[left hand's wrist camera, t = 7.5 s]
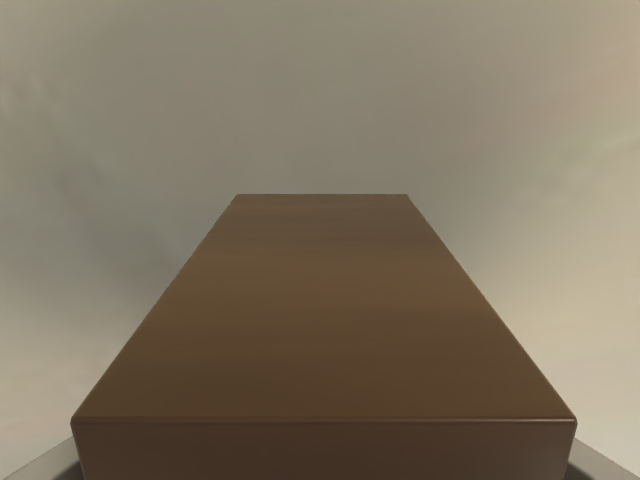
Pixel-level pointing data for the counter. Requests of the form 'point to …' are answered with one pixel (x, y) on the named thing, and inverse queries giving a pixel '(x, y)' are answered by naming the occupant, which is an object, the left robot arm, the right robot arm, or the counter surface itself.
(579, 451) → the left robot arm
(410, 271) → the bar
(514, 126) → the counter surface
